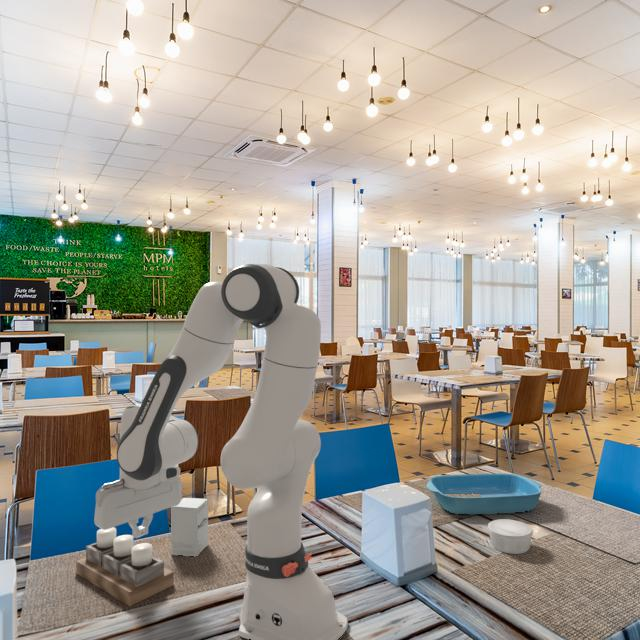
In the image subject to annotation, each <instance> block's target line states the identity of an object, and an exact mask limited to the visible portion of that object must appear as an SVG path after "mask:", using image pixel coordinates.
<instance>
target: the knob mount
mask: <svg viewBox="0 0 640 640" xmlns="http://www.w3.org/2000/svg"><path fill="white" fill-rule="evenodd" d="M75 562H76V566H75V572H76V574H75V575H77V576H79V577H81V578H82V579H84V580H86V581H87V582H89V583H91V584H93V585H94V586H95V587H97V588H99V589H100V590H102V591H104V592H106V593H107V594H108V595H110V596H112V597H113V598H115V599H117V600H118V601H120V602H122V603H123V604H125V605H127V606H128V607H132V606H134V605H136V604H138V603H140V602H142V601H144V600H146V599H148V598H150V597H152V596H155V595H156V594H158V593H161V592H162V591H165V590H166V589H168V588H170V587H173V586H174V585H175V584H174V583H175V582H174V571H173V570H170V569H168V568H166V567H165V562H164V561H163V560H161V559H160V558H157V557H155V556H154V555H152V562H151V563H149V564H147V565H145V566H133V565H132V560H131V554H130V555H127V556H123V557H117V556H114V554H113V546H111V547H107V548H99V547H97V541H96V542H94V543H91V544H89V545H86V546H85V557H83V558H81V559H78V560H76V561H75Z"/></svg>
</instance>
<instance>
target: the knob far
mask: <svg viewBox="0 0 640 640" xmlns="http://www.w3.org/2000/svg"><path fill="white" fill-rule="evenodd" d="M116 537H117V528H116V527H112V528H109V529H106V530H104V529H101V528H99V529H97V531H96V542H97V547H99V548H107V547H111V546H113V540H114V538H116Z"/></svg>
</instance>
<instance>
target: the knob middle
mask: <svg viewBox="0 0 640 640" xmlns="http://www.w3.org/2000/svg"><path fill="white" fill-rule="evenodd" d="M134 539H135V538H134V537H133V535H132V534H122V535H118V536H116V538H114V540H113V554H114V556H117V557H123V556H127V555H130V554H131V548H132V547H133V546H135V543H134Z"/></svg>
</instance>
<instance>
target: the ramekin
mask: <svg viewBox="0 0 640 640" xmlns="http://www.w3.org/2000/svg"><path fill="white" fill-rule="evenodd" d="M487 530H488V534H489V539H490V544H491V545H492V547H493V548H494V549H495V550H497V551H498V552H502V553H505V554H508V555H511V554H512V555H522V554H525V553H527V552H528V551H529V550H530V548H531V543H532V537H533V534H534V530H533V528H532V527H531V526H530V525H528V524H527V523H524V522H522V521H519V520H514V519H507V518H504V519H502V518H501V519H500V518H499V519H495V520H491V521H490V522H488V523H487Z"/></svg>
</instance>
